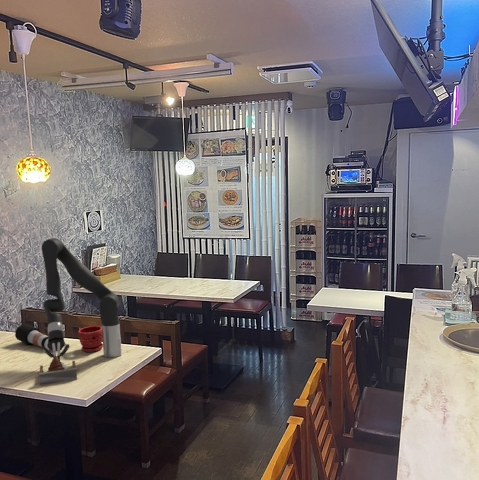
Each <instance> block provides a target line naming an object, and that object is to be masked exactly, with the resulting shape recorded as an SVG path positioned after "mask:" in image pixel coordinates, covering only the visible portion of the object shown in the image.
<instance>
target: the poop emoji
mask: <svg viewBox="0 0 479 480" xmlns="http://www.w3.org/2000/svg"><path fill="white" fill-rule="evenodd" d="M56 356H57V355H56ZM56 356H54V358H53V357H52V360H51V362H50V364H49V367H48V368H47V369H48V370H47V371H46V372H51V371H58V370H64V369H67V364H66V363H64V362H63V361H61V360H60V361H59V359H58V358H57V357H56Z"/></svg>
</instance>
